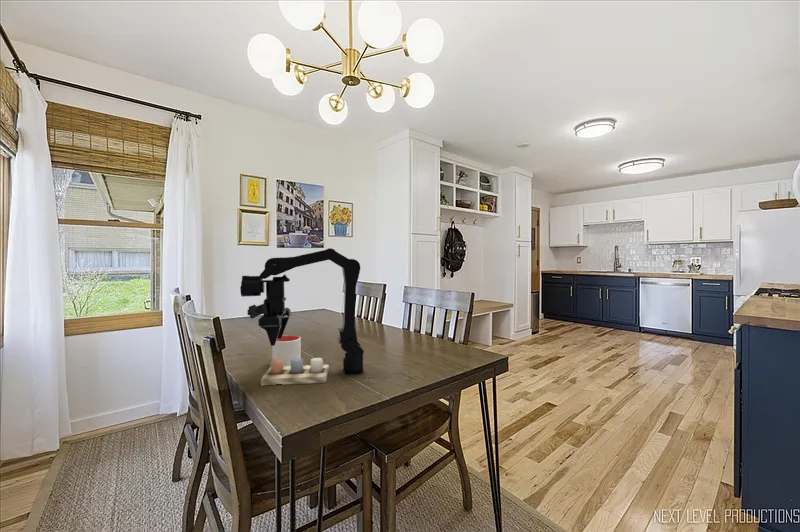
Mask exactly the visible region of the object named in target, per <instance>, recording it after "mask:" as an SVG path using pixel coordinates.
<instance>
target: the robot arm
mask: <svg viewBox="0 0 800 532" xmlns="http://www.w3.org/2000/svg"><path fill="white" fill-rule="evenodd" d="M326 261H331V262H332V263H334V264H335V265H337V266H338V267H340V268H341V270H342V276H343V282H344V283H343V284H344V299H343V302H344V303H343V324H342V328H339V327H338V328H337V329H338V331H337V332H338V337H337V341H338V344H339V345H340V347H341V349H342V350H343V351H344V352H345V353H344V357H343V358H342V360H343V361H342V362H343V363H342V365H343V366H342V367H343V369H342V370H343V371H344V375H351V374H352V375H354V374H357V375H358V374H364V353H365V349H364V348H363V346H362V344H361V343H360V342H359V341H358V336H357V331H356V325H355V323H356V296H357V294H356V293H357V284H358V282H359V281H358V280H359V278H360V277H359V276H360V272H361V264H360V262H359V261H358V260H357V259H355V258H348V257H346V256H345V255H343V254H341V253H339V252H338V251H336V250H335V249H334V248H331V247H329V248H327V249H322V250H318V251H314V252H310V253H305V254H300V255H296V256H286V257H285V256H284V257H282V256H281V257H271V258H269V259H267V260H266V261H265V263H264V269H263V270H262V272H260V275H242V276H241V281H240V287H239V289H240V291H239V292H240V295H241V297H260V296H262V294H263V293H265V296H266V297H265V299H264V300H263V303H261V304H259V305H256V304H252V305H250V306H248V309H247V310H246V312H247V316H249V318H250V319H251V320H253V319H255V318H256V317H258V316H259V317H260V316H261V315H262V316H261V317H260V318H259V319H258V320H257V321H258V323H257V325H258V326H259V327H260V328H261V329H263V330H265V332H266V335H267V336H268V340H269V343H270V346H271V347H272V346H274V345H275V343H276V340H277V337H278V339H281V338H282V336H284V335H283V334H284V333H285V330H286V327H287V325H288V322H289V321H290V319H291V317H290V316H292V315H291V314H292V312H291V311H292V310H291V308H289V307H286V306H285V305H286V303H285V302H286V300H287V298H286V297H285V283H287V282H290V280H291V279H290V278H289V277H288V276H287V274H286V272H287V271H290V270H292V269H295V268H297V267H303V266H307V265H312V264H316V263H319V262H326ZM282 273H285V274H283V275H282V276H278V275H280V274H282ZM271 276H273V277H272V279H268V278H270V277H271Z"/></svg>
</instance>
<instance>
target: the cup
mask: <svg viewBox="0 0 800 532" xmlns="http://www.w3.org/2000/svg"><path fill="white" fill-rule="evenodd" d="M301 340H302V339H301V336H299V335H282V338H281V339H278V337H277V340H276V343H275V345H274V346H271V347H272V348H271V349H272V355H271V356H272V358H271V359H272V360H275V359H282V360H283V366H291V360H292V359H297V358H300V359H302V357H301V354H302V351H301V350H302V349H301V346H302V345H301V343H302V342H301Z"/></svg>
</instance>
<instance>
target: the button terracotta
mask: <svg viewBox="0 0 800 532" xmlns="http://www.w3.org/2000/svg"><path fill="white" fill-rule="evenodd" d="M269 368H270V374H272V375H279V374H282V373H283V360H282V359H275V360H273V359H272V360H270V365H269Z"/></svg>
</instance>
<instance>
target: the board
mask: <svg viewBox="0 0 800 532" xmlns="http://www.w3.org/2000/svg"><path fill="white" fill-rule="evenodd" d="M329 371H330V366H329V364H323V371H322V372H321V373H311V364H310V365H308V364H307V365H303V372H302V373H300V374H292V373H291V366H283V373H282V374H279V375H272V374H270V367H269V368H268V369H267V370H266V372H265V373H264V375H263V376H262V377H261V378H260V386H277V385H276V384H282V385H301V384H302V385H304V384H305V385H306V384H324V383H325V384H326V383H327V378H328V376H329V375H328V374H329Z"/></svg>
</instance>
